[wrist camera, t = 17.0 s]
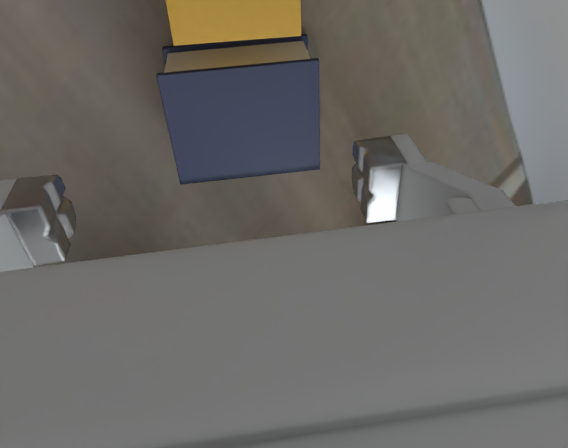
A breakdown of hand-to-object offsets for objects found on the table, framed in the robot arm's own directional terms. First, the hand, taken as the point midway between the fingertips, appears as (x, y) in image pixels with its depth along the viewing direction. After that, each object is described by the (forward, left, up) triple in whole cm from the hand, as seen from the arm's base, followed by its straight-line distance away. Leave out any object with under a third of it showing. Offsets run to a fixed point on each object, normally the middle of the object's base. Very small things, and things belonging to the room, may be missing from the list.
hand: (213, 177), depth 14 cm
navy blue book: (+7, -4, -23) cm, 24 cm away
